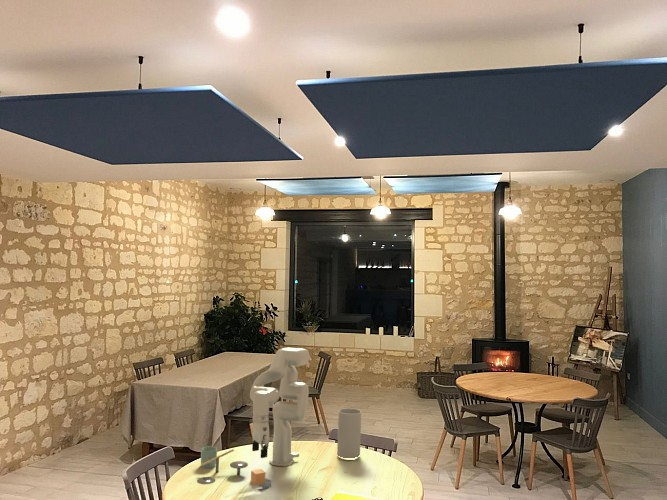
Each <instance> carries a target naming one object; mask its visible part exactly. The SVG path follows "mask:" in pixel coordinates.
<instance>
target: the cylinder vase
mask: <svg viewBox="0 0 667 500" xmlns="http://www.w3.org/2000/svg"><path fill="white" fill-rule="evenodd" d="M337 419H338V422H337V444H336V445H337V452H336V456H337V455H338V456H340V457H343V458H355V457H358V456H359V455H360V456H361V438H362V437H361V433H362V430H361V429H362V425H361V424H362V411H361V410H360V409H357V408H351V407H346V408H345V407H344V408H340V409H338V418H337Z"/></svg>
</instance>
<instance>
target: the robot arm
mask: <svg viewBox="0 0 667 500" xmlns="http://www.w3.org/2000/svg"><path fill="white" fill-rule="evenodd" d="M310 357H311V356H310V352H309V350H308V349H307V348H298V347H297V348H296V347H281V348H279V349H278V350H277V351H276V352H275V354H274V356H273V358H272V362H271V363H270V365H269V368H268V369H267V370H266V371H265V370H264V372H262V373H260V374H259V375H258V376H257V377H256V378H255V379H254V380H253V381H254V382H253V384H252V386H251V388H250V391H249V398H250V400H251V401H252V403H253V404H252V431H251V435H252V436H251V438H252V440H251V443H252V444H251V445H252V446H251V447H252V449H251V450H252V452H257V451H259V450H260V458H261V459H265V458H268V449H269V443H270V425H269V424H270V423H269V420H270V418H269V417H270V405H273V406H272V417H273V440H272V441H273V442H272V457H271V458H270V459H269V464H271V465H273V466H276V467H288V466H291V465H292V464H294V458H299V457H300V454H299V452H296V453H295V452H292V435H293V434H292V433H293V432H292V431H293V430H292V425H291V423H290V422H295V423H297V422H298V423H299V422H300V423H302V422H303V421H304V420H305V418H306V413H307V407H308V400H309V393H310V392H309V390H310V389H309V386H308V384H307V383H305V382H301V381H300V382H299V381H298V377H299V374H298V373H299V372H298V370H297V368H296V366H297V367H303V366H306V365H307V364H308V363H309V362H310ZM279 380H280V385H279V389H278V388H276V387H272V386H271V387H269V386H265V385H267V384H269V383H273V382H276V381H279ZM280 398H281V399H284V400H289V401H284V400H283V401H281V400H279V399H280ZM290 400H291V401H292V402H291V401H290ZM293 401H294V402H293ZM295 401H297V402H295ZM260 447H261V449H260Z"/></svg>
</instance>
